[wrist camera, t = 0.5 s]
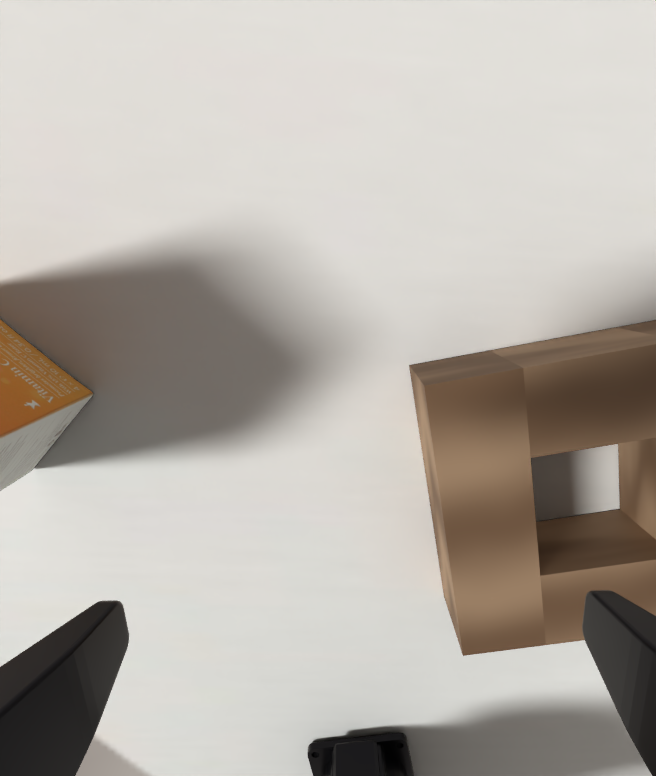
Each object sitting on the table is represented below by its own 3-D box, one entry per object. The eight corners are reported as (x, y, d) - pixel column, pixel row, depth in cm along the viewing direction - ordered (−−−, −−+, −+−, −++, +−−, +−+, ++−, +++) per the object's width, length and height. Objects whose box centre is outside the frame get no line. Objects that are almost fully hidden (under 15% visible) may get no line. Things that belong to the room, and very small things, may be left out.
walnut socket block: (695, 561, 24) (764, 616, 20) (444, 596, 25) (463, 655, 21) (702, 311, 20) (787, 320, 16) (409, 365, 21) (424, 385, 18)
